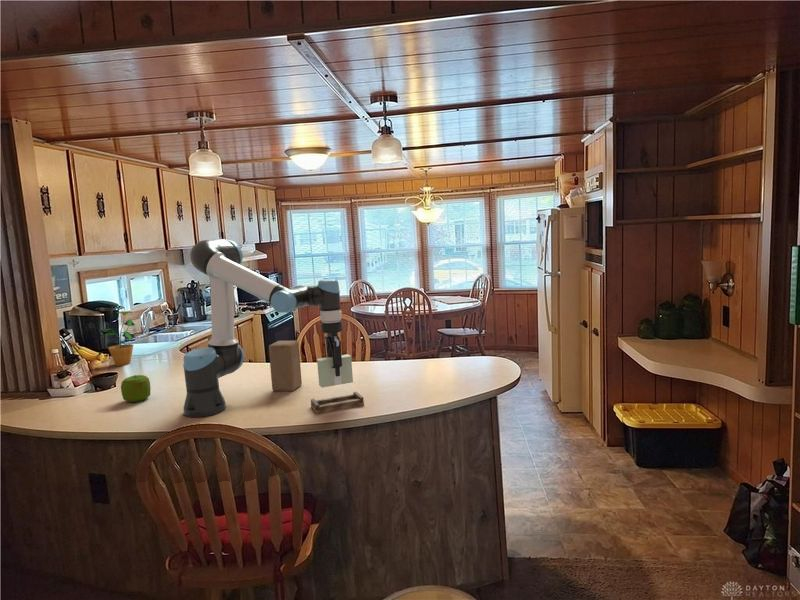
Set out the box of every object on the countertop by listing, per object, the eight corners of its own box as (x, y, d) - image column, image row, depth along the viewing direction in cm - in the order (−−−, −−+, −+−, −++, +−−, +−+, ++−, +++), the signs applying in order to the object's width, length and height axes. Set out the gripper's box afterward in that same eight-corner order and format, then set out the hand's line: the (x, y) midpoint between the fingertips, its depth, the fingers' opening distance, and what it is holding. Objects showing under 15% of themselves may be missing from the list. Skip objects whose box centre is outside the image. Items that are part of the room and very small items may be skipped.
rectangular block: (321, 387, 194) (319, 360, 193) (319, 385, 198) (317, 358, 196) (353, 382, 198) (351, 356, 197) (349, 379, 202) (347, 354, 201)
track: (316, 413, 192) (316, 405, 191) (311, 406, 200) (310, 399, 199) (364, 405, 198) (363, 397, 198) (356, 398, 207) (356, 391, 206)
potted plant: (148, 361, 297) (142, 308, 293) (116, 369, 281) (109, 313, 277) (129, 359, 306) (123, 307, 302) (97, 366, 290) (90, 312, 286)
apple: (124, 398, 225) (121, 373, 223) (152, 394, 228) (149, 370, 227) (121, 406, 214) (117, 379, 213) (150, 401, 218) (147, 376, 217)
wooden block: (293, 391, 221) (289, 344, 219) (271, 391, 223) (267, 345, 221) (302, 384, 231) (299, 339, 228) (281, 384, 233) (277, 340, 230)
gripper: (347, 323, 189) (352, 386, 191) (335, 317, 204) (339, 376, 207) (327, 325, 186) (332, 390, 189) (315, 319, 202) (320, 379, 204)
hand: (336, 382), depth 198 cm, fingers closed on rectangular block, 4 cm apart
